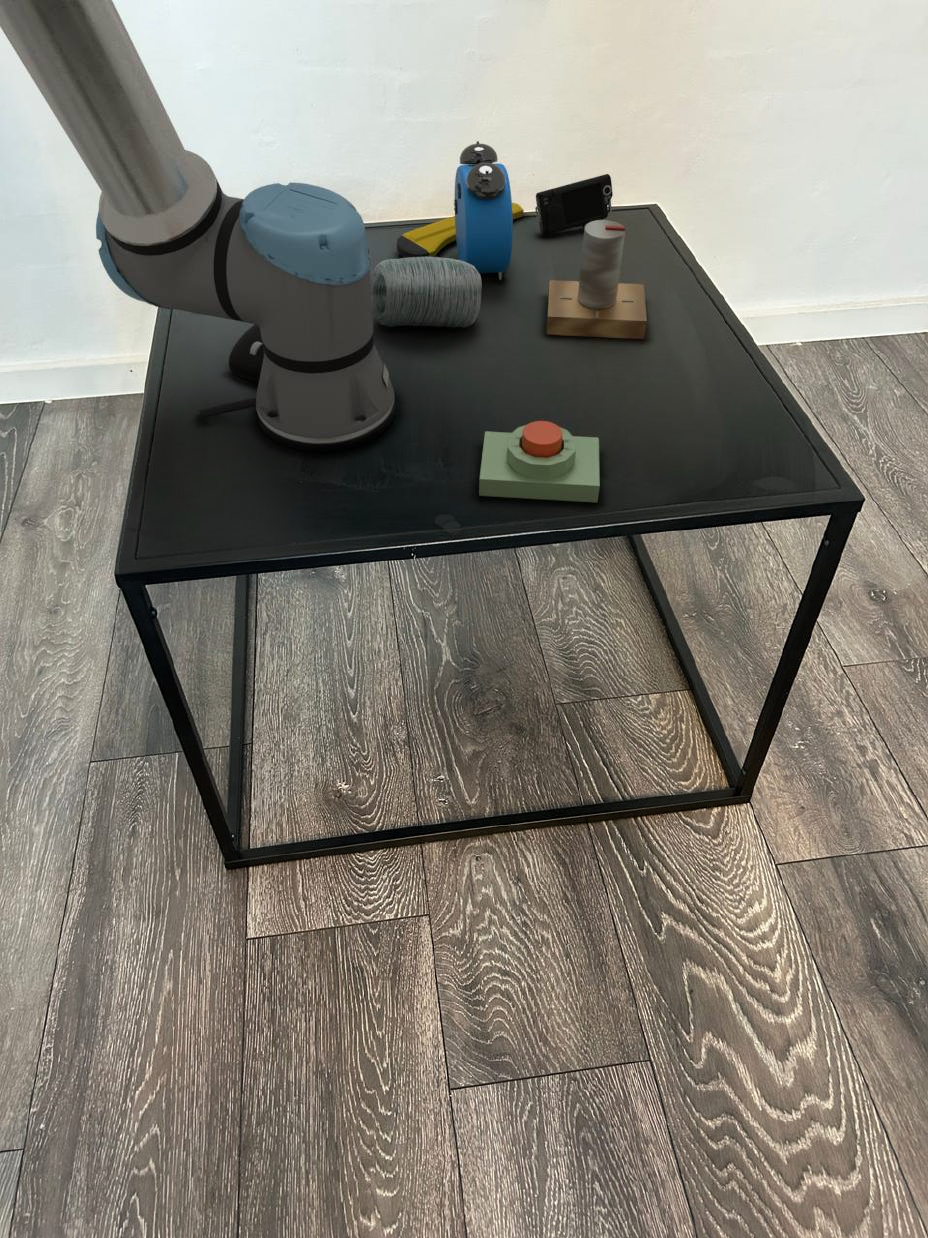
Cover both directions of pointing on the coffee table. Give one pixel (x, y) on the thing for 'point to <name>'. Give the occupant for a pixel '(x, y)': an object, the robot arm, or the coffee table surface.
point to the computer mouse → (248, 355)
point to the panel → (596, 313)
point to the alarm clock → (483, 210)
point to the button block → (540, 469)
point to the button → (542, 439)
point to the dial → (601, 263)
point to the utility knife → (434, 237)
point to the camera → (574, 204)
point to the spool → (426, 292)
